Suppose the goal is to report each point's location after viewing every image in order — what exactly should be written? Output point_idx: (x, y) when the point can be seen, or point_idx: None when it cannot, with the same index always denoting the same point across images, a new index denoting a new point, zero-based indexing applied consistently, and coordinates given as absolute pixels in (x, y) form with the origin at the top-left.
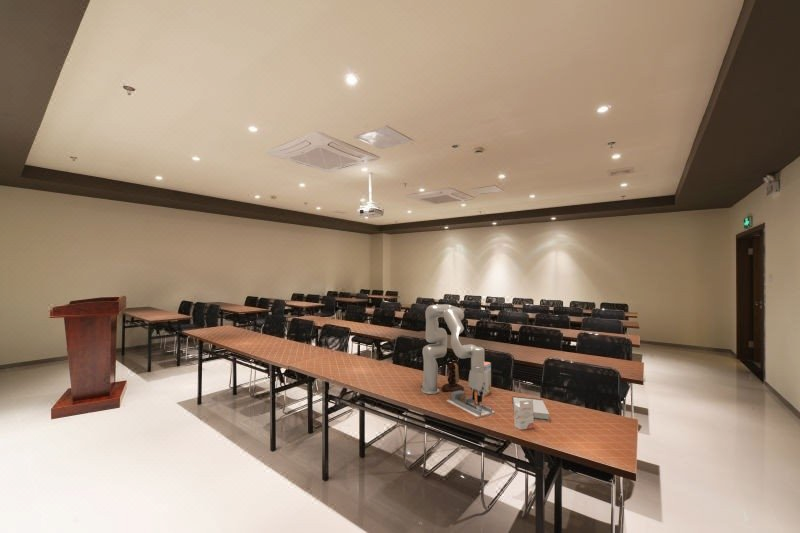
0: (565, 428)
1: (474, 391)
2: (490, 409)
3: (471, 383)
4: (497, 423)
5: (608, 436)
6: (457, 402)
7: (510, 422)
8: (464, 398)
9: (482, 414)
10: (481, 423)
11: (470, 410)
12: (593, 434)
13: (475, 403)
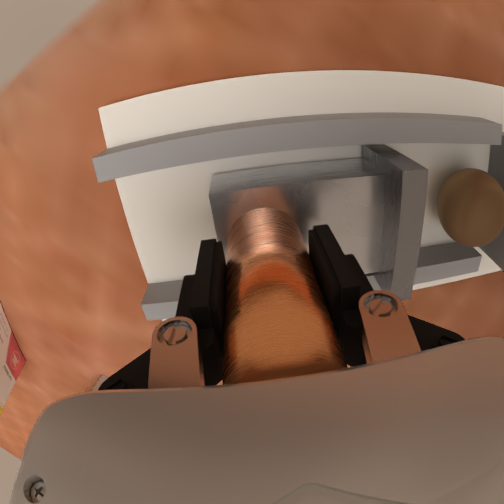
0: (22, 419)
1: (323, 337)
2: (145, 303)
3: (459, 480)
4: (22, 231)
5: (2, 438)
6: (466, 119)
7: (39, 313)
8: (462, 207)
9: (129, 193)
10: (32, 107)
11: (253, 121)
12: (3, 429)
13: (253, 216)
